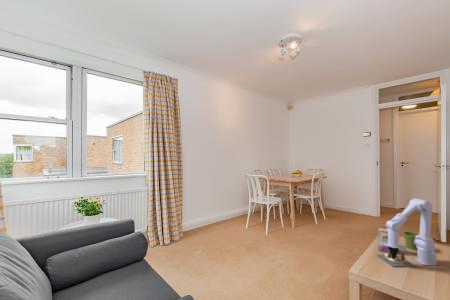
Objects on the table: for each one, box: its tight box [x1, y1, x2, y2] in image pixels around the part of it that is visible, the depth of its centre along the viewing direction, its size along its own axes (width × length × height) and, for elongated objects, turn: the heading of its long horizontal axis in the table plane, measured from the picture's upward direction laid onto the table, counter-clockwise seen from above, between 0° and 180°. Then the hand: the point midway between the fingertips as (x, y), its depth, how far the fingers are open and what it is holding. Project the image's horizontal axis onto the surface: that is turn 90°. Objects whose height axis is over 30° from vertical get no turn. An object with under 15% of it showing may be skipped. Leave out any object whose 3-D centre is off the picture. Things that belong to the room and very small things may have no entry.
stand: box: [376, 254, 416, 268], centre depth 149 cm, size 15×15×1 cm
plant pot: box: [402, 230, 419, 251], centre depth 168 cm, size 12×12×11 cm
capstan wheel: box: [384, 251, 407, 264], centre depth 149 cm, size 12×12×6 cm
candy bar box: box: [377, 227, 390, 253], centre depth 163 cm, size 11×5×16 cm, turn 58°
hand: (393, 258), depth 145 cm, fingers closed
